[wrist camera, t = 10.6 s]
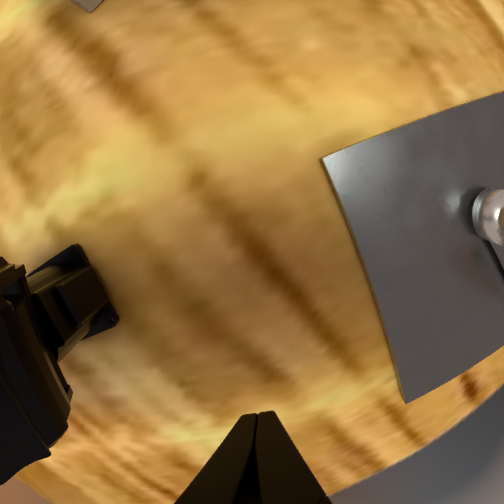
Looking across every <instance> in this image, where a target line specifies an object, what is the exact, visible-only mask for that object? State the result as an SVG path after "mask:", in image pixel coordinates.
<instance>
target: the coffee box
mask: <svg viewBox="0 0 504 504" xmlns="http://www.w3.org/2000/svg"><path fill="white" fill-rule="evenodd" d="M71 1H72V2H74V3H75V4H77V5H78V6H80V7H82V8H83V9H85V10H86V11H88V12H92V11H93V10H94V9H95V8H96V7H97V6H98V5H99V4H100V3H101V2H102V1H103V0H71Z"/></svg>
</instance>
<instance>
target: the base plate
mask: <svg viewBox="0 0 504 504" xmlns="http://www.w3.org/2000/svg"><path fill="white" fill-rule="evenodd" d="M320 161H321V164H322V166H323V168H324V170H325V173H326V175H327V177H328V180H329V182H330V184H331V187H332V189H333V191H334V194H335V196H336V198H337V201H338V203H339V206H340V208H341V211H342V213H343V216H344V218H345V221H346V223H347V226H348V228H349V231H350V233H351V236H352V239H353V241H354V244H355V247H356V249H357V252H358V255H359V257H360V260H361V263H362V266H363V269H364V271H365V274H366V277H367V280H368V283H369V286H370V289H371V292H372V295H373V298H374V301H375V304H376V307H377V310H378V313H379V317H380V320H381V323H382V326H383V330H384V333H385V336H386V340H387V343H388V347H389V350H390V354H391V357H392V361H393V365H394V368H395V372H396V376H397V380H398V384H399V388H400V392H401V396H402V398H403V400H404V402H405V404H407V403H409V402H411V401H413V400H415V399H417V398H419V397H421V396H423V395H425V394H426V393H428V392H430V391H432V390H434V389H436V388H437V387H439V386H441V385H443V384H445V383H446V382H448V381H450V380H451V379H453V378H455V377H457V376H458V375H460V374H461V373H463V372H465V371H466V370H468V369H470V368H471V367H473V366H474V365H476V364H477V363H479V362H480V361H482V360H483V359H485V358H486V357H488V356H489V355H491V354H492V353H494V352H495V351H497V350H498V349H499V348H501V347H502V346H504V269H503V266H502V264H501V262H500V260H499V258H498V256H497V254H496V252H495V250H494V249H493V247H492V245H491V243H490V241H488V240H485V239H483V238H481V237H480V236H479V235H478V234H477V232H476V231H475V228H474V225H473V221H472V207H473V203H474V201H475V199H476V198H477V196H478V195H479V193H480V192H481V191H483V190H484V189H486V188H497V189H504V91H503V92H500V93H496V94H493V95H490V96H487V97H484V98H481V99H477V100H474V101H471V102H468V103H465V104H462V105H459V106H456V107H453V108H450V109H447V110H445V111H442V112H439V113H436V114H433V115H430V116H428V117H425V118H422V119H419V120H416V121H414V122H411V123H408V124H406V125H403V126H400V127H398V128H395V129H392V130H390V131H387V132H385V133H382V134H379V135H377V136H374V137H372V138H369V139H367V140H364V141H362V142H359V143H357V144H354V145H352V146H349V147H347V148H344V149H342V150H340V151H337V152H335V153H332V154H330V155H327V156H325V157H323V158H320Z"/></svg>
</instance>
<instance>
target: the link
mask: <svg viewBox="0 0 504 504" xmlns="http://www.w3.org/2000/svg"><path fill="white" fill-rule="evenodd" d="M503 209H504V189H497V188H486V189H484V190H483V191H481V192H480V193H479V195H478V196H477V198H476V200H475V202H474V206H473V211H472V220H473V225H474V228H475V231H476V232H477V234H478V235H479V236H480V237H481V238H483V239H485V240H488V241H490V243H491V245H492V247H493V249H494V250H495V252H496V254H497V256H498V258H499V260H500V262H501V264H502V266H503V269H504V231H503V230H502V228H501V224H500V217H501V213H502V210H503Z"/></svg>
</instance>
